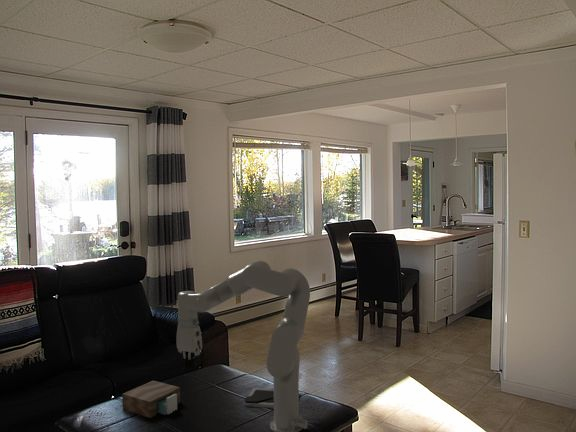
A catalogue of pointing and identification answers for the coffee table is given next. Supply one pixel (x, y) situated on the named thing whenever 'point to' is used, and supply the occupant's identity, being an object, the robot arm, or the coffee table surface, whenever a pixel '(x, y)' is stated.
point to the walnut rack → (148, 397)
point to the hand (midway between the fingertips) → (189, 368)
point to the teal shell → (167, 404)
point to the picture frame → (260, 398)
